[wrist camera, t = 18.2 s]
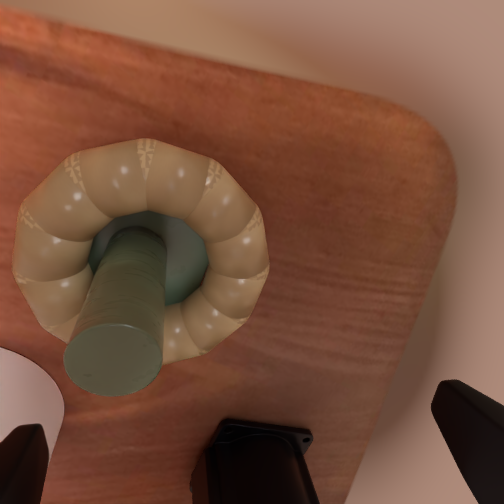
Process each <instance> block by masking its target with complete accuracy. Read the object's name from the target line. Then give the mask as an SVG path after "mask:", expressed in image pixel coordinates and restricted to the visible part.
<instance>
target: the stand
mask: <svg viewBox="0 0 504 504" xmlns="http://www.w3.org/2000/svg"><path fill="white" fill-rule="evenodd" d="M88 263H89V265H90V268H91V270H92V272H93V274H94V279H93V281H92V284H91V286H90V289H89V291H88V294H87V296H86V299H85V301H84V304H83V306H82V309H81V311H80V314H79V316H78V319H77V321H76V324H75V326H74V329H73V331H72V334H71V336H70V339H69V341H68V344H67V347H66V349H65V352H64V367H65V370H66V373H67V374H68V376H69V378H70V379H71V380H72V381H73V382H74V383H75V384H76V385H77V386H79V387H80V388H82V389H83V390H85V391H87V392H90V393H93V394H96V395H101V396H123V395H128V394H132V393H134V392H137V391H139V390H141V389H143V388H145V387H146V386H148V385H149V384H150V383H151V382H152V381H153V380H154V379H155V378H156V376H157V375H158V373H159V371H160V369H161V367H162V362H163V343H164V318H165V306H167V305H171V304H175V303H179V302H182V301H183V300H185V299H186V298H187V297H188V296H189V295H190V294H192V293H193V292H194V291H195V290H196V289H198V288H199V286H200V284H201V282H202V279H203V277H204V274H205V272H206V269H207V267H208V264H209V260H208V256H207V252H206V248H205V244H204V240H203V239H202V238H201V237H200V236H199V235H198V234H197V233H196V232H195V231H193V230H192V229H191V228H190V227H189V226H188V225H187V224H186V223H185V222H184V221H183V220H182V219H178V218H175V217H171V216H167V215H163V214H160V213H156V212H152V211H149V210H148V211H143V212H139V213H134V214H130V215H125V216H121V217H116V218H114V219H113V220H112V221H111V222H110V223H109V224H107V225H106V226H105V227H104V228H103V229H102V230H101V231H100V232H99V233H98V234H97V235H96V236H95V237H93V241H92V246H91V251H90V255H89V260H88Z"/></svg>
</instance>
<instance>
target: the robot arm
mask: <svg viewBox="0 0 504 504" xmlns="http://www.w3.org/2000/svg"><path fill="white" fill-rule="evenodd" d="M431 411H432V414H433V416H434V419H435V421H436V423H437V425H438V427H439V429H440V431H441V433H442V435H443V437H444V439H445V441H446V443H447V445H448V447H449V449H450V452H451V453H452V455H453V457H454V460H455V462H456V464H457V466H458V468H459V470H460V472H461V474H462V476H463V478H464V479H465V481H466V483H467V485H468V486H469V488H470V490H471V492H472V493H473V495H474V497H475V498H476V500H477V502H478V503H479V504H504V406H503V405H502V404H500V403H498V402H496V401H494V400H493V399H491V398H489V397H488V396H486V395H484V394H482V393H481V392H479V391H477V390H475V389H474V388H472V387H470V386H468V385H467V384H465V383H463V382H461V381H459V380H444V381H441V382H440V383H439V385H438V387H437V390H436V392H435V395H434V398H433V401H432V403H431ZM312 441H313V435H312V433H311V431H310V430H307V429H300V428H293V427H286V426H278V425H271V424H264V423H257V422H250V421H242V420H235V419H225V420H223V421H222V422H221V423H220V424H219V426H218V428H217V430H216V432H215V434H214V436H213V438H212V440H211V442H210V444H209V446H208V447H207V448H206V449H205V450H204V451H203V453H202V455H201V457H200V459H199V461H198V463H197V465H196V467H195V469H194V471H193V473H192V479H191V481H190V491H191V492H192V500H193V504H320V503H319V500H318V497H317V494H316V491H315V488H314V485H313V482H312V479H311V476H310V473H309V470H308V468H307V465H306V462H305V459H304V456H303V455H304V454H305V452H306V451H307V449H308V447H309V446H310V444H311V443H312ZM48 462H49V448H48V444H47V441H46V437H45V433H44V429H43V426H42V425H41V424H40V423H34V424H25V425H19V426H17V427H16V428H15V429H13V430H12V431H11V432H10V433H9V434H8V435H7V436H6V437H5V438H4V439H3V441H2V442H1V443H0V504H40V501H41V496H42V491H43V487H44V482H45V477H46V472H47V467H48Z"/></svg>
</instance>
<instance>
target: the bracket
mask: <svg viewBox="0 0 504 504" xmlns="http://www.w3.org/2000/svg"><path fill="white" fill-rule="evenodd" d="M63 417H64V401H63V397H62V394H61V392H60V390H59V388H58V386H57V385H56V383H55V382H54V380H53V379H52V378H51V377H50V376H49V375H48V374H47V373H46V372H45V371H44V370H43V369H42V368H41V367H39V366H38V365H37V364H35V363H34V362H32V361H31V360H29V359H27V358H25V357H23V356H21V355H19V354H17V353H15V352H12V351H10V350H7V349H4V348H1V347H0V443H1V442H2V441H3V439H4V438H5V437H6V436H7V435H8V434H9V433H10V432H11V431H12V430H13V429H15V428H16V427H17V426H19V425H25V424H34V423H40V424H41V425H42V426H43V429H44V433H45V437H46V441H47V444H48V448H49V462H50V458H51V455H52V452H53V449H54V446H55V443H56V440H57V437H58V434H59V431H60V427H61V424H62V421H63ZM49 462H48V465H49ZM47 468H48V467H47Z"/></svg>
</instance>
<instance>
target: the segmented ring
mask: <svg viewBox="0 0 504 504" xmlns="http://www.w3.org/2000/svg"><path fill="white" fill-rule="evenodd" d="M148 210H149V211H152V212H156V213H160V214H163V215H167V216H171V217H175V218H178V219H182V220H183V221H184V222H185V223H186V224H187V225H188V226H189V227H190V228H191V229H192V230H193V231H195V232H196V233H197V234H198V235H199V236H200V237H201V238H202V239H203V240H204V244H205V248H206V252H207V256H208V260H209V265H208V268H207V271H206V274H205V277H204V280H203V283H202V285H201V286H200V287H199V288H198V289H196V290H195V291H194V292H193V293H192V294H190V295H189V296H188V297H187V298H186V299H185V300H183V301H182V302H179V303H175V304H171V305H167V306H165V318H164V343H163V362H162V365H166V364H170V363H174V362H177V361H181V360H185V359H189V358H193V357H196V356H200V355H203V354H206V353H207V352H209V351H210V350H212V349H213V348H214V347H216V346H217V345H218V344H219V343H221V342H222V341H223V340H224V339H226V338H227V337H228V336H229V335H230V334H232V333H233V332H234V331H235V330H237V329H238V328H239V327H240V326H242V325H243V324H244V323H245V322H246V321H247V320H248V319H249V317H250V316H251V314H252V312H253V309H254V307H255V304H256V302H257V300H258V297H259V295H260V293H261V290H262V288H263V285H264V283H265V281H266V278H267V276H268V273H269V267H270V261H269V254H268V248H267V242H266V236H265V230H264V224H263V218H262V214H261V211H260V209H259V207H258V206H257V205H256V203H255V202H254V201H253V200H252V199H251V198H250V196H249V195H248V194H247V193H246V192H245V191H244V190H243V189H242V187H241V186H240V185H239V184H238V183H237V182H236V181H235V180H234V178H233V177H232V176H231V175H230V174H229V173H228V172H227V171H226V169H225V168H224V167H223V166H222V165H221V164H220V163H218V162H217V161H215V160H214V159H212V158H209V157H207V156H204V155H201V154H198V153H195V152H192V151H189V150H186V149H183V148H180V147H177V146H174V145H170V144H167V143H164V142H161V141H158V140H155V139H150V138H140V139H134V140H129V141H124V142H119V143H114V144H109V145H104V146H99V147H95V148H90V149H85V150H81V151H77V152H75V153H73V154H71V155H69V156H68V157H67V158H66V159H64V160H63V161H62V162H61V163H60V164H59V165H58V166H57V167H56V168H55V169H54V170H53V171H52V172H51V173H50V174H49V175H48V176H47V177H46V178H45V179H44V180H43V181H42V182H41V183H40V184H39V185H38V186H37V187H36V188H35V189H34V190H33V191H32V192H31V193H30V194H29V195H28V196H27V197H26V198H25V200H24V201H23V202H22V204H21V206H20V208H19V212H18V217H17V225H16V233H15V241H14V248H13V256H12V266H11V267H12V273H13V276H14V279H15V281H16V283H17V285H18V286H19V288H20V290H21V292H22V294H23V295H24V297H25V299H26V301H27V303H28V304H29V306H30V308H31V310H32V312H33V313H34V315H35V317H36V319H37V321H38V322H39V324H40V325H41V326H42V327H43V328H44V329H45V330H46V331H48V332H49V333H50V334H52V335H54V336H55V337H57V338H59V339H60V340H62V341H63V342H65V343H67V344H68V341H69V339H70V336H71V334H72V331H73V329H74V326H75V324H76V321H77V319H78V316H79V314H80V311H81V309H82V306H83V304H84V301H85V299H86V296H87V294H88V291H89V289H90V286H91V284H92V281H93V279H94V274H93V272H92V270H91V268H90V265H89V263H88V260H89V255H90V251H91V246H92V241H93V237H95V236H96V235H97V234H98V233H99V232H100V231H101V230H102V229H103V228H104V227H105V226H106V225H107V224H109V223H110V222H111V221H112V220H113V219H114V218H116V217H121V216H125V215H130V214H134V213H139V212H143V211H148Z"/></svg>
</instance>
